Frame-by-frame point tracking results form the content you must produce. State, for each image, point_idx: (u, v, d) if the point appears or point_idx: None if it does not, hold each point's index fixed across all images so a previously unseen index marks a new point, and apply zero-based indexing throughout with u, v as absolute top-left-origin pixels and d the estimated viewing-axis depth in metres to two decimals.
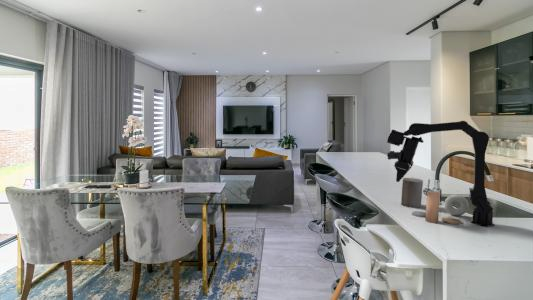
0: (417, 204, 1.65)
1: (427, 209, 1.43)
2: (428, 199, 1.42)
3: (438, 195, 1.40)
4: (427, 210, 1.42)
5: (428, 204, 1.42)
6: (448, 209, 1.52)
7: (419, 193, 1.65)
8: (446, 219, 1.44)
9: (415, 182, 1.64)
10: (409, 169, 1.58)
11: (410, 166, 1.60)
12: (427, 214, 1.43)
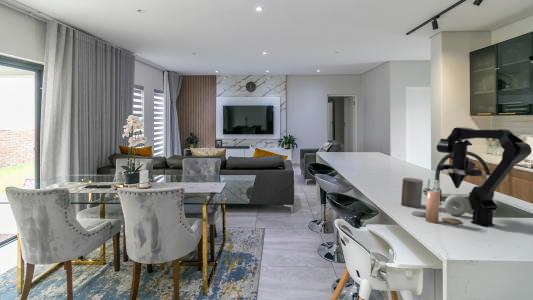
0: (417, 204, 1.65)
1: (427, 209, 1.43)
2: (428, 199, 1.42)
3: (438, 195, 1.40)
4: (427, 210, 1.42)
5: (428, 204, 1.42)
6: (448, 209, 1.52)
7: (419, 193, 1.65)
8: (446, 219, 1.44)
9: (415, 182, 1.64)
10: (455, 176, 1.49)
11: (460, 174, 1.47)
12: (427, 214, 1.43)
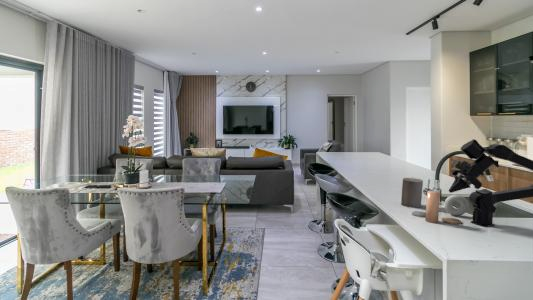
0: (417, 204, 1.65)
1: (427, 209, 1.43)
2: (428, 199, 1.42)
3: (438, 195, 1.40)
4: (427, 210, 1.42)
5: (428, 204, 1.42)
6: (448, 209, 1.52)
7: (419, 193, 1.65)
8: (446, 219, 1.44)
9: (415, 182, 1.64)
10: None
11: None
12: (427, 214, 1.43)
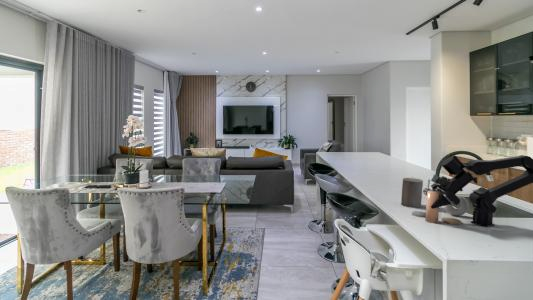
0: (417, 204, 1.65)
1: (427, 209, 1.43)
2: (428, 199, 1.42)
3: (438, 195, 1.40)
4: (427, 210, 1.42)
5: (428, 204, 1.42)
6: (448, 209, 1.52)
7: (419, 193, 1.65)
8: (446, 219, 1.44)
9: (415, 182, 1.64)
10: None
11: None
12: (427, 214, 1.43)
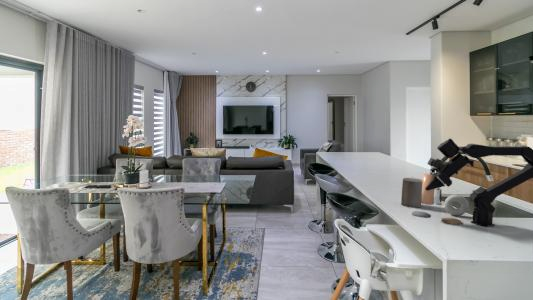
0: (417, 204, 1.65)
1: (422, 191, 1.46)
2: (423, 181, 1.45)
3: (433, 177, 1.43)
4: (422, 192, 1.45)
5: (423, 186, 1.45)
6: (448, 209, 1.52)
7: (419, 193, 1.65)
8: (446, 219, 1.44)
9: (415, 182, 1.64)
10: None
11: None
12: (422, 196, 1.46)
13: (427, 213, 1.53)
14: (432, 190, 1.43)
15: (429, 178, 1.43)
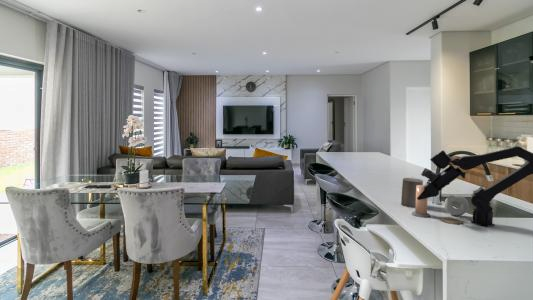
0: None
1: None
2: (416, 192, 1.52)
3: None
4: None
5: (416, 197, 1.52)
6: (448, 209, 1.52)
7: None
8: (446, 219, 1.44)
9: (415, 182, 1.64)
10: None
11: None
12: (415, 206, 1.53)
13: (427, 213, 1.53)
14: (424, 201, 1.50)
15: (420, 189, 1.50)
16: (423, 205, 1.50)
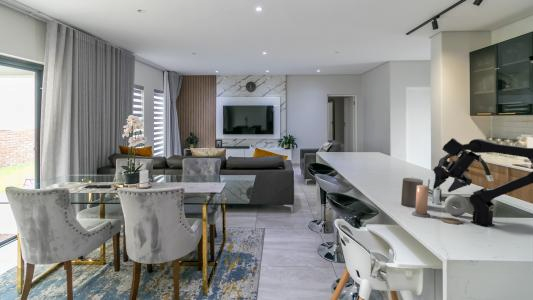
0: None
1: None
2: (416, 192, 1.52)
3: (425, 189, 1.49)
4: (416, 202, 1.53)
5: (416, 197, 1.52)
6: (448, 209, 1.52)
7: None
8: (446, 219, 1.44)
9: (415, 182, 1.64)
10: (460, 186, 1.49)
11: None
12: (415, 207, 1.53)
13: (427, 213, 1.53)
14: (424, 201, 1.50)
15: (421, 189, 1.50)
16: (423, 205, 1.50)
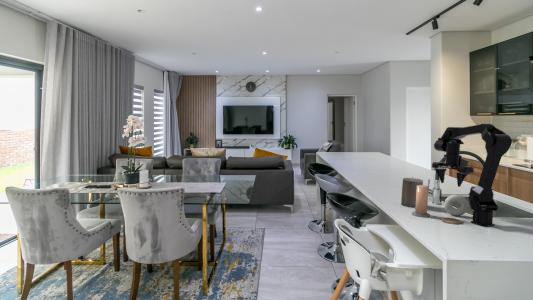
0: None
1: None
2: (416, 192, 1.52)
3: (425, 189, 1.49)
4: (416, 202, 1.53)
5: (416, 197, 1.52)
6: (448, 209, 1.52)
7: None
8: (446, 219, 1.44)
9: (415, 182, 1.64)
10: None
11: None
12: (415, 207, 1.53)
13: (427, 213, 1.53)
14: (424, 201, 1.50)
15: (421, 189, 1.50)
16: (423, 205, 1.50)
